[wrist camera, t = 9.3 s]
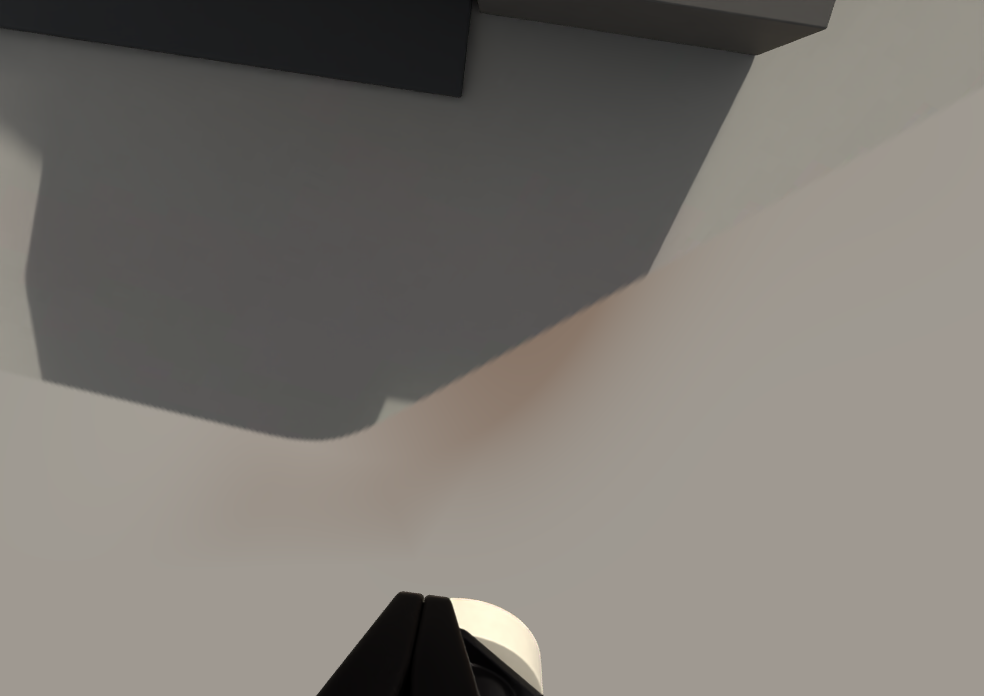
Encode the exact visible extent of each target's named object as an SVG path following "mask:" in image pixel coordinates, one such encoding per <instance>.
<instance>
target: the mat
mask: <svg viewBox="0 0 984 696" xmlns="http://www.w3.org/2000/svg"><path fill="white" fill-rule="evenodd" d="M471 5H472V0H0V28H6V29H12V30H19V31H25V32H32V33H39V34H45V35H52V36H58V37H65V38H71V39H78V40H84V41H91V42H98V43H104V44H111V45H117V46H124V47H130V48H137V49H144V50H150V51H157V52H163V53H170V54H176V55H183V56H189V57H196V58H203V59H209V60H216V61H222V62H229V63H235V64H242V65H249V66H255V67H262V68H268V69H275V70H281V71H288V72H295V73H301V74H308V75H314V76H321V77H327V78H334V79H340V80H347V81H354V82H360V83H367V84H373V85H380V86H386V87H393V88H400V89H406V90H413V91H419V92H426V93H432V94H439V95H445V96H452V97H459V98H461V96H462V87H463V78H464V69H465V60H466V51H467V42H468V33H469V23H470V14H471Z"/></svg>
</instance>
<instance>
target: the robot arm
mask: <svg viewBox="0 0 984 696" xmlns="http://www.w3.org/2000/svg"><path fill="white" fill-rule="evenodd" d="M317 696H543V695H542V694H541V693H540V692H539V691H537V690H536V689H535V688H534V687H533V686H532V685H530V684H529V683H528V682H527V681H526V680H524V679H523V678H522V677H521V676H520V675H519V674H517V673H516V672H515V671H514V670H513V669H511V668H510V667H509V666H508V665H507V664H506V663H504V662H503V661H502V660H501V659H500V658H498V657H497V656H496V655H495V654H494V653H493V652H491V651H490V650H489V649H488V648H487V647H485V646H484V645H483V644H482V643H481V642H480V641H478V640H477V639H476V638H475V637H474V636H472V635H471V634H470V633H469V632H468V631H466V630H465V629H462V628H459V624H458V621H457V618H456V614H455V611H454V608H453V604H452V602H451V600H450V599H449V598H447V597H441V596H434V595H428V596H426V597H425V599H424V597H423V595H422V594H419V593H411V592H404V591H403V592H399V593H398V594H397V595H396V596H395V597H394V599H393V600H392V601H391V602H390V604H389V605H388V606H387V607H386V609H385V610H384V611H383V612H382V614H381V615H380V616H379V617H378V619H377V620H376V621H375V622H374V624H373V625H372V626H371V627H370V629H369V630H368V631H367V633H366V634H365V635H364V636H363V638H362V639H361V640H360V641H359V643H358V644H357V645H356V647H355V648H354V649H353V650H352V652H351V653H350V654H349V655H348V656H347V658H346V659H345V660H344V662H343V663H342V664H341V665H340V667H339V668H338V669H337V670H336V672H335V673H334V674H333V675H332V677H331V678H330V679H329V680H328V682H327V683H326V684H325V686H324V687H323V688H322V689H321V691H320V692H319V693H318V694H317Z"/></svg>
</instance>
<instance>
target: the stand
mask: <svg viewBox="0 0 984 696" xmlns="http://www.w3.org/2000/svg"><path fill="white" fill-rule="evenodd" d="M834 3H835V0H478V5H479V9H480V12H481V13H488V14H494V15H500V16H507V17H513V18H520V19H526V20H533V21H539V22H545V23H552V24H558V25H565V26H571V27H578V28H584V29H590V30H597V31H603V32H610V33H616V34H623V35H629V36H635V37H642V38H648V39H655V40H661V41H668V42H674V43H681V44H687V45H693V46H700V47H706V48H713V49H719V50H726V51H732V52H738V53H745V54H751V55H759V54H762V53H764V52H767V51H769V50H772V49H775V48H777V47H780V46H783V45H785V44H788V43H790V42H793V41H796V40H798V39H801V38H803V37H806V36H809V35H811V34H814V33H816V32H819V31H822V30H824V29H826V28H827V26H828V22H829V19H830V16H831V13H832V10H833V7H834Z"/></svg>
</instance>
